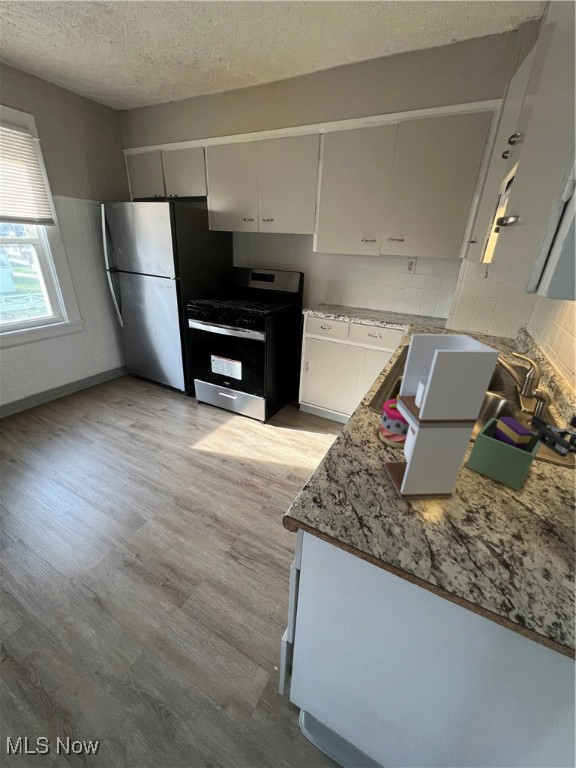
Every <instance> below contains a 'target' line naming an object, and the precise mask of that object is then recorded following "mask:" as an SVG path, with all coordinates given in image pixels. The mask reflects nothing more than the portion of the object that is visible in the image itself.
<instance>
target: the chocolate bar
mask: <svg viewBox="0 0 576 768" xmlns="http://www.w3.org/2000/svg"><path fill="white" fill-rule="evenodd" d="M530 431H531V430H530V429H528V428H526V427H525V426H524V425H523V424H521V423H520V422H519V421H518V420H517V419H515V418H513V417H512V416H500V417H499V419H498V423H497V427H496V429H495V432H494V435H493V437H492V438H493V439H496V440H498V441H501V442H503V443H506V444H508V445H511V446H513V447H516V448H518V449H521V450H523V451H525V449H526V446H527V444H528V443H529V440H530V438H531V435H532V432H533V431H531V432H530Z"/></svg>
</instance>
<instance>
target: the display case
mask: <svg viewBox="0 0 576 768" xmlns="http://www.w3.org/2000/svg"><path fill="white" fill-rule="evenodd" d="M500 354H501V351H499V350H497V349H495V348H493V347H491V346H489V345H487V344H485V343H483V342H481V341H480V340H477V339H475V338H473V337H471V336H469V335H467V334H454V333H453V334H451V333H450V334H449V333H447V334H446V333H444V334H443V333H440V334H439V333H438V334H437V333H436V334H435V333H411V335H410V340H409V346H408V351H407V356H406V361H405V365H404V369H403V373H402V374H403V375H402V379H401V383H400V389H399V393H398V394H399V398H398V403H397V409H398V410H399V411H400V413H401V414H402V415H403V417H404V418H405V419H406V421H407V422H408V423H409V424H410V425H409V429H408V433H407V437H406V441H405V446H404V448H403V455H404V458H405V460H406V461H391V462H390V461H387V462H386V461H385V462H384V465H383V467H384V469H385V471H386V473H387V475H388V477H389V478H390V481H391V483H392V484H393V486H394V488H395V491H396V492H397V494H398V496H399V498H400V499H401V500H402V499H434V498H438V499H439V498H451V497H452V494H453V491H454V489H455V485H456V483H457V480H458V476H459V473H460V470H461V468H462V465H463V461H464V459H465V456H466V453H467V450H468V447H469V444H470V442H471V438H472V435H473V433H474V430H475V427H476V424H477V421H478V418H479V415H480V412H481V409H482V406H483V404H484V400H485V398H486V395H487V392H488V389H489V386H490V383H491V380H492V378H493V377H492V376H493V374H494V372H495V369H496V366H497V363H498V359H499V357H500Z"/></svg>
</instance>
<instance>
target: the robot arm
mask: <svg viewBox="0 0 576 768" xmlns="http://www.w3.org/2000/svg"><path fill="white" fill-rule="evenodd" d="M529 424H530V426H532V428H534V429H536V431H538V432H537V436H536V439H537V440H538V441H540V442H541V444H543V445H544V446H545V447H547V448H548V449H549V450H551V451H552V452H554V453H555V454H556V455H558V456H560V457H562V458H565V457H567V455H568V454H573V455H576V431H575V430H573V429H576V415H573V416H572V418H571V419H570V421H569V425H570V426H571V427H572V428H573V429H569V428H567V427H566V428H565V427H564V428H559V427H557V426H553V425H552V424H551V423H549V422H548V421H547V420H545V419H544V418H542V417H541V416H539V415H533V416H532V418H531V420H530V423H529ZM567 436H570V437H569V439H566V437H567Z"/></svg>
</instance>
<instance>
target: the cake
mask: <svg viewBox="0 0 576 768" xmlns="http://www.w3.org/2000/svg"><path fill="white" fill-rule="evenodd" d="M398 398H399V393H398V394H397V396H396V398H391V399H387V400H386V401H385V402H384V403H383V406H382V410H381V415H380V419H381V421H380V422H381V424H380V425H379V426H378V428H379V433H378V437H379V438H380V440H381V441H382V442H383V443H385V444H387V445H388V446H391V447H394V448H399V449H404V446H405V441H406V437H407V433H408V429H409V425H410V424H409V423H408V422H407V421H406V419H405V418H404V417H403V415H402V414H401V413H400V411H399V410H398V409H397V403H398Z"/></svg>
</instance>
